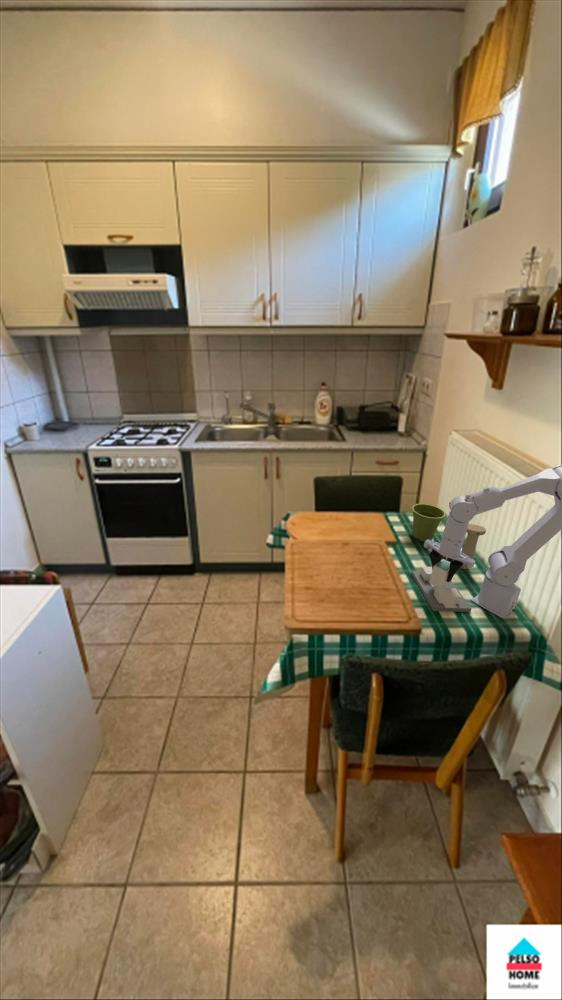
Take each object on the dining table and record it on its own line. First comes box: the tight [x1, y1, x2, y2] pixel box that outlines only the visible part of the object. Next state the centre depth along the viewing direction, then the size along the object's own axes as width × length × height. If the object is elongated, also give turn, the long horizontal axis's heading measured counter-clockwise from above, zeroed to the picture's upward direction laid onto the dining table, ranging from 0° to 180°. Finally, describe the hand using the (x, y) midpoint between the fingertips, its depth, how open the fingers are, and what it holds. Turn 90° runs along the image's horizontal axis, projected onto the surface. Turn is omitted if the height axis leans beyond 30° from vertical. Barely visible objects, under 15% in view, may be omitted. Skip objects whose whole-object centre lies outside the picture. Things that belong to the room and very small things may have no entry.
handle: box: [459, 523, 487, 570], centre depth 138 cm, size 5×6×15 cm
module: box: [429, 558, 452, 588], centre depth 124 cm, size 4×6×6 cm, turn 134°
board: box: [411, 565, 472, 613], centre depth 126 cm, size 18×11×4 cm, turn 4°
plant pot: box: [411, 503, 446, 542], centre depth 156 cm, size 12×12×11 cm
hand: (441, 577), depth 125 cm, fingers closed on module, 4 cm apart
